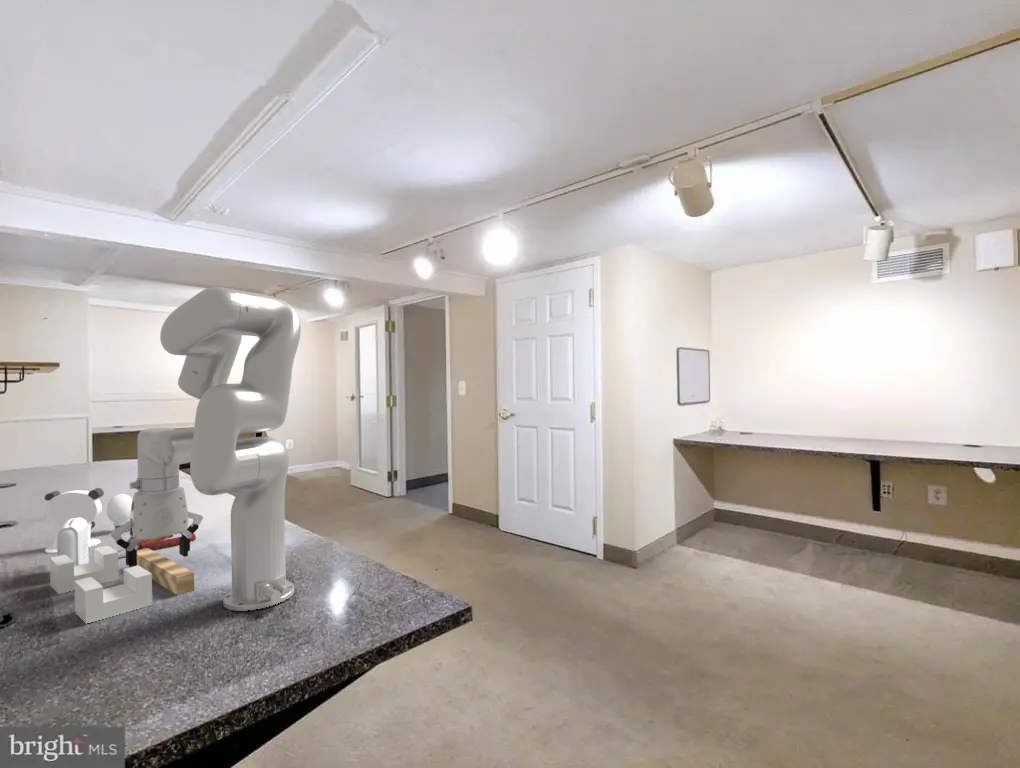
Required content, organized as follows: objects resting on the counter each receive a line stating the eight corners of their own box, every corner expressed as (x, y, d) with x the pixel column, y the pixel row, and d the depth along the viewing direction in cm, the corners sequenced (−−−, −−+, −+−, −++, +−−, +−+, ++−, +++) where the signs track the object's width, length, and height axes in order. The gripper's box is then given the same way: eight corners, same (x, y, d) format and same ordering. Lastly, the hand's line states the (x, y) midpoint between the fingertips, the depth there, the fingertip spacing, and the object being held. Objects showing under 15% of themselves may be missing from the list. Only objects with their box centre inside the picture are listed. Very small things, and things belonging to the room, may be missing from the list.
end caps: (152, 604, 97) (151, 573, 97) (85, 624, 89) (85, 591, 89) (108, 571, 116) (107, 545, 116) (50, 585, 108) (49, 557, 108)
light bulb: (140, 529, 151) (139, 492, 151) (113, 535, 145) (112, 497, 145) (130, 526, 154) (129, 490, 154) (103, 532, 149) (102, 495, 149)
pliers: (88, 561, 125) (88, 550, 125) (170, 537, 143) (170, 528, 143) (118, 567, 120) (117, 556, 120) (198, 542, 139) (197, 532, 139)
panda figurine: (110, 537, 143) (108, 484, 143) (93, 549, 133) (92, 492, 133) (57, 543, 139) (56, 488, 139) (35, 555, 129) (34, 497, 129)
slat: (194, 592, 104) (193, 572, 104) (177, 597, 101) (177, 577, 101) (147, 564, 121) (147, 547, 121) (132, 568, 119) (132, 551, 119)
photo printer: (67, 567, 119) (66, 515, 119) (91, 564, 121) (90, 512, 121) (55, 582, 110) (53, 525, 110) (80, 578, 112) (79, 522, 112)
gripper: (115, 493, 102) (115, 577, 102) (208, 480, 116) (208, 554, 116) (105, 488, 107) (105, 568, 107) (195, 476, 121) (195, 547, 121)
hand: (159, 561), depth 112 cm, fingers open, 9 cm apart
